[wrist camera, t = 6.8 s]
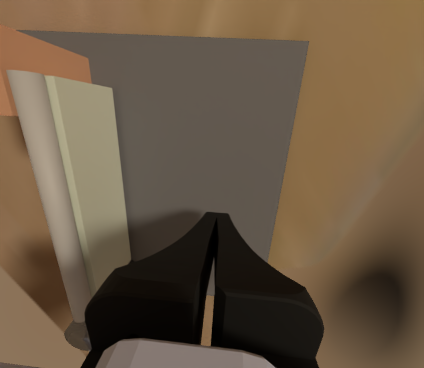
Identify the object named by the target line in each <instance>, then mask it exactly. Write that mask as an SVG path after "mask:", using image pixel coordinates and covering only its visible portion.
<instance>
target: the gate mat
mask: <svg viewBox="0 0 424 368" xmlns="http://www.w3.org/2000/svg"><path fill="white" fill-rule="evenodd" d="M16 31H19V32H22V33H24V34H27V35H29V36H32V37H34V38H37V39H40V40H42V41H45V42H47V43H50V44H53V45H55V46H58V47H60V48H63V49H66V50H68V51H71V52H73V53H76V54H79V55H81V56H84V57H86V58H88V60H89V68H90V75H91V82H92V84H95V85H100V86H104V87H109V88H112V91H113V100H114V109H115V118H116V127H117V136H118V145H119V154H120V163H121V172H122V181H123V190H124V199H125V208H126V217H127V226H128V235H129V244H130V253H131V259H132V260H133V261H135V262H136V261H139V260H141V259H144V258H146V257H149V256H151V255H153V254H155V253H157V252H159V251H161V250H163V249H164V248H166V247H168V246H170V245H171V244H173V243H174V242H176V241H177V240H179V239H180V238H181V237H182V236H184V235H185V234H186V233H187V232H188V231H189V230H190V229H192V228H193V227H194V225H195V224H196V223H197V222H198V221H199V220H200V219H201V218H202V217H203V215H204V214H205V213H206V212H217V213H228V214H229V215H230V218H231V220H232V222H233V224H234V226H235V227H236V229H237V230H238V232H239V234H240V235H241V236H242V238H243V239H244V240H245V242H246V243H247V244H248V245H249V247H250V248H251V249H252V250H253V251H254V252H255V253H256V254H257V255H258V256H260V257H261V258H262V259H263V260H264V261H265V262H268V256H269V251H270V246H271V241H272V235H273V230H274V225H275V219H276V214H277V209H278V203H279V198H280V193H281V188H282V182H283V177H284V172H285V166H286V161H287V156H288V151H289V145H290V140H291V135H292V129H293V124H294V119H295V114H296V108H297V103H298V98H299V92H300V87H301V82H302V76H303V71H304V66H305V61H306V55H307V50H308V45H309V41H289V40H263V39H237V38H211V37H185V36H159V35H133V34H107V33H81V32H55V31H29V30H16ZM214 294H215V285H214V260H213V265H212V270H211V275H210V280H209V285H208V289H207V295H211V296H214Z"/></svg>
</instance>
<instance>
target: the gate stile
mask: <svg viewBox="0 0 424 368" xmlns="http://www.w3.org/2000/svg"><path fill="white" fill-rule="evenodd" d="M6 70H19V71H28V72H35V73H40V74H44V75H45V76H56V77H61V78H66V79H71V80H76V81H80V82H85V83H90V84H92V82H91V75H90V68H89V60H88V58H86V57H84V56H81V55H79V54H76V53H73V52H71V51H68V50H66V49H63V48H60V47H58V46H55V45H53V44H50V43H47V42H45V41H42V40H40V39H37V38H34V37H32V36H29V35H27V34H24V33H22V32H19V31H16V30H14V29H11V28H9V27H6V26H3V25H1V24H0V115H5V116H18V113H17V109H16V105H15V102H14V98H13V94H12V90H11V87H10V83H9V79H8V76H7V72H6Z"/></svg>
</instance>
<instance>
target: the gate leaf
mask: <svg viewBox="0 0 424 368" xmlns="http://www.w3.org/2000/svg"><path fill="white" fill-rule="evenodd" d="M6 72H7V76H8V79H9V83H10V87H11V90H12V94H13V98H14V102H15V105H16V109H17V113H18V116H19V120H20V124H21V128H22V131H23V135H24V139H25V142H26V146H27V150H28V153H29V157H30V161H31V165H32V168H33V172H34V176H35V179H36V183H37V187H38V190H39V194H40V198H41V202H42V205H43V209H44V213H45V216H46V220H47V224H48V228H49V231H50V235H51V239H52V242H53V246H54V250H55V253H56V257H57V261H58V265H59V268H60V272H61V276H62V279H63V283H64V287H65V290H66V294H67V298H68V302H69V305H70V309H71V313H72V316H73V320H74V321H75V322H76V323H81V322H84V321H85V315H84V312H85V309H86V306H87V304H88V303H89V301H90V300H91V299H92V297H93V296H94V295H95V293H96V292H97V291H98V289H99V288H100V286H101V285H102V284H103V282H104V281H105V280H106V278H107V277H108V276H109V275H110V274H111V273H112V272H113V270H114V269H115V268H118V267H122V266H125V265H127V264H128V263H129V262H130V260H131V253H130V244H129V235H128V226H127V217H126V208H125V199H124V190H123V181H122V172H121V163H120V154H119V145H118V136H117V127H116V118H115V109H114V100H113V91H112V88H109V87H104V86H100V85H95V84H90V83H85V82H80V81H76V80H71V79H66V78H61V77H56V76H45V75H44V74H40V73H35V72H28V71H19V70H6Z"/></svg>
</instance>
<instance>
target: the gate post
mask: <svg viewBox="0 0 424 368" xmlns="http://www.w3.org/2000/svg"><path fill="white" fill-rule="evenodd" d="M133 262H135V261H133V260H132V259H131V260H130V262H129V263H128V264H130V263H133ZM64 335H65V338H66V340H67V341H68V342H69V344H71V345H72V346H74V347H75V348H78V349H80V350H86V351H90V350H91V349H92V347H91V343H90V339H89V335H88V331H87V327H86V323H85V321H84V322H81V323H76V322H75V321H74V320H73V321H72V323H71V324H70V325H69V327H68V328H67V329H66V331H65V333H64Z"/></svg>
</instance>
